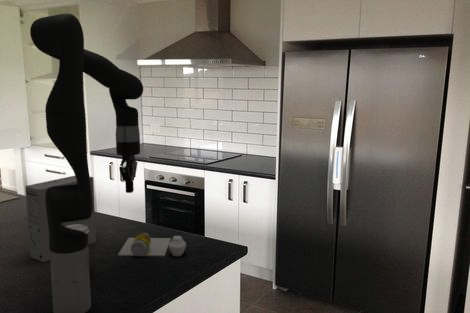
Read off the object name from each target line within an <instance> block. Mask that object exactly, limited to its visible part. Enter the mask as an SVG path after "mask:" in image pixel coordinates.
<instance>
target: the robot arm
mask: <svg viewBox="0 0 470 313" xmlns="http://www.w3.org/2000/svg"><path fill="white" fill-rule="evenodd" d="M29 33H30V38H31V41H32V43H33V45H34V46H35V47H36V49H38V50H39V51H40V52H41V53H42V54H46V55H47V56H48V57H51V58H53V59H55V60H58V61H59V62H58V63H59V65H58V73H57V75H56V76H57V77H56V78H55V81H54V84H53V86H52V88H51V90H50V93H49V95H48V97H47V99H46V104H45V123H46V124H45V125H46V134H47V136H48V137H49V139H50V141H51V142H52V143H53V145H54V146H55V147H56V148H57V150H58V151H59V152H60V153H61V154H62V156H63V157H64V159H66V161H67V164H69V166H70V168H71V170H72V171H73V173H74V176H76V180H77V184H74V185H62V186H53V187H49V188H48V189H47V191H46V194H45V204H46V213H47V221H48V229H49V250H50V260H49V265H50V277H51V278H50V280H51V293H52V297H51V298H52V310H53V313H87V312H88V311H89V310H90V309H91V307H92V300H91V299H92V297H91V281H90V280H91V279H90V276H91V275H90V260H89V259H90V257H89V245H88V236H87V234H86V233H85V232H83V231H80V230H74V229H70V228H67V227H65V226H63V225H62V223H63V222H71V221H78V220H85V219H89V218H90V217H91V215H92V210H93V202H92V192H91V184H90V177H91V176H90V168H89V161H88V148H87V147H88V145H87V144H88V143H87V141H88V140H87V118H86V109H85V96H84V92H85V91H84V74H86V75H87V76H89V77H90V78H92V79H93V80H95V81H96V82H98V84H100V85H102V86H103V87H105V88H106V89H107V88H108V92H109V93H108V94H109V96H110V99H111V102H112V105H113V109H114V112H115V150H116V155H118V156H121V158H122V160H121V161H120V167H119V172H120V175H121V178H122V181H123V182H125V183H124V184H125V193H127V194H129V193H130V194H131V193H133V192H134V180H135V178H136V175H137V168H138V162H137V159H136V156H137V155H140V154H141V140H140V139H141V138H140V137H141V136H140V135H141V132H140V128H139V124H140V123H139V111H138V109H137V108H136V107H133V106H130V105H129V104H128V103H127V100H138V99H139V98H141V97H142V95H143V93H144V84H143V83H142V81H141V80H140V78H139V77H137V76H136V75H134V74H133V73H131V72H128V71H126V70H123V69H121V68H119V67H118V66H117V65H116V64H114V63H113V62H112V61H111V60H109V59H108V58H107V57H105V56H103V55H101V54H99V53H97V52H93V51H90V50H88V49H85V38H84V30H83V26H82V25H81V22H80V21H79V19H78V17H77V16H75V15H74V14H71V13H61V14H60V13H59V14H54V15H49V16H44V17H39V18H37V19H35V20H34V21H33V22H32V23H31V25H30V29H29Z"/></svg>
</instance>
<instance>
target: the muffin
mask: <svg viewBox="0 0 470 313" xmlns="http://www.w3.org/2000/svg"><path fill="white" fill-rule="evenodd" d="M186 246H187V243H186V241H184V239H183V237H182V236H181V235H174V236H172V238H171V240H170V243H169V245H168V248H169V251H170V252H171V254H172V256H173V257H181V256H182V255H183V254H184V252H185V249H186Z"/></svg>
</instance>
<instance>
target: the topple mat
mask: <svg viewBox="0 0 470 313" xmlns="http://www.w3.org/2000/svg"><path fill="white" fill-rule="evenodd" d="M135 238H136V237H128V238H127V239H126V242H124V244H123V246H122V248H121V249H120V251H119V252H118V254H117V257H137V256H136V255H134V254H133V253H132V251H131V245H132V243H133V241H134V240H135ZM150 239H151V242H150V245H149V247H148V249H147V251H146V253H145V254H144V255H142V256H141V257H165V256H166V253H167V250H168V248H169V243H170V242H171V241H172V238H171V237H150Z"/></svg>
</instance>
